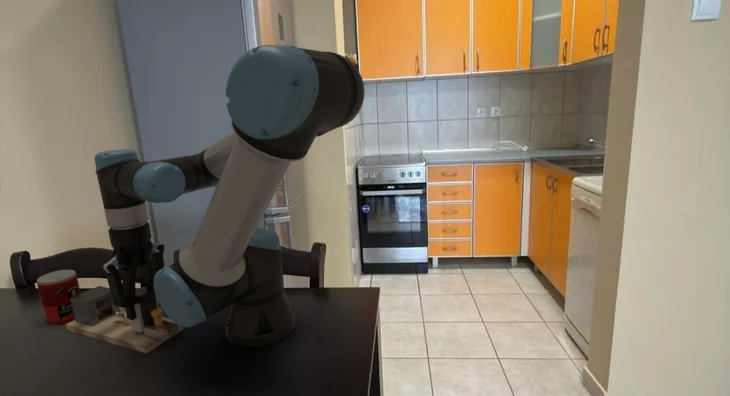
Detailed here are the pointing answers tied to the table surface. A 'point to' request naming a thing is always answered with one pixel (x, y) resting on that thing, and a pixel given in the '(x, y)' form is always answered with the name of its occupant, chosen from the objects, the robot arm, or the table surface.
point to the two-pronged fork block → (147, 305)
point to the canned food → (58, 295)
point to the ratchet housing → (92, 305)
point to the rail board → (117, 332)
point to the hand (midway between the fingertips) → (147, 325)
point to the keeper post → (157, 317)
